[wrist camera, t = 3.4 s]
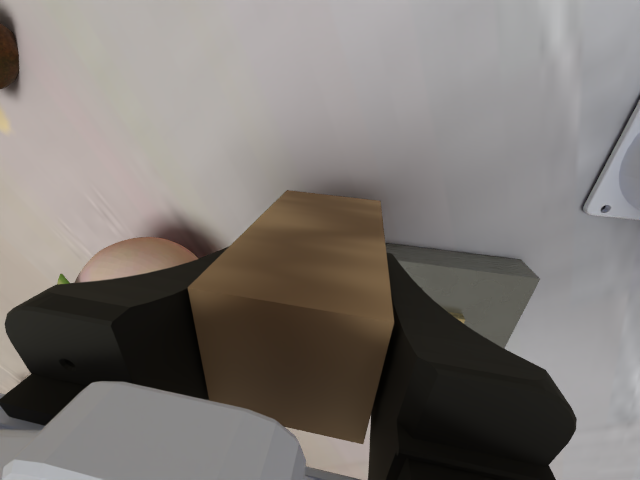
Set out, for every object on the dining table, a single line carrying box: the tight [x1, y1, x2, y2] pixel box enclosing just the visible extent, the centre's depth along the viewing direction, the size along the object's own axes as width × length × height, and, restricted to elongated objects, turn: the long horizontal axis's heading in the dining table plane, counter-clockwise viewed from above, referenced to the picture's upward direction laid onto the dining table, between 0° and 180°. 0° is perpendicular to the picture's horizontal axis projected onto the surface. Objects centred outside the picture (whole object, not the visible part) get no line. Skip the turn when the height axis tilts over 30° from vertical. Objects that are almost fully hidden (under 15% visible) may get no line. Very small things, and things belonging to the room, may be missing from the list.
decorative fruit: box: [58, 237, 198, 284], centre depth 20 cm, size 9×8×10 cm
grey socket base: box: [385, 243, 540, 348], centre depth 23 cm, size 16×16×3 cm
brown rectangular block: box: [188, 190, 394, 444], centre depth 10 cm, size 4×4×8 cm
